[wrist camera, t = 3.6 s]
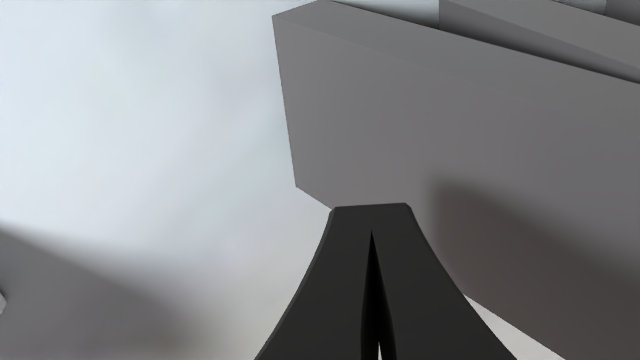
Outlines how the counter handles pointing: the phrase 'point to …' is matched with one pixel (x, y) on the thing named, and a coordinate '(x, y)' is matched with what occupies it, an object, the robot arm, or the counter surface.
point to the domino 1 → (549, 33)
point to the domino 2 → (478, 165)
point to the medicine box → (2, 303)
